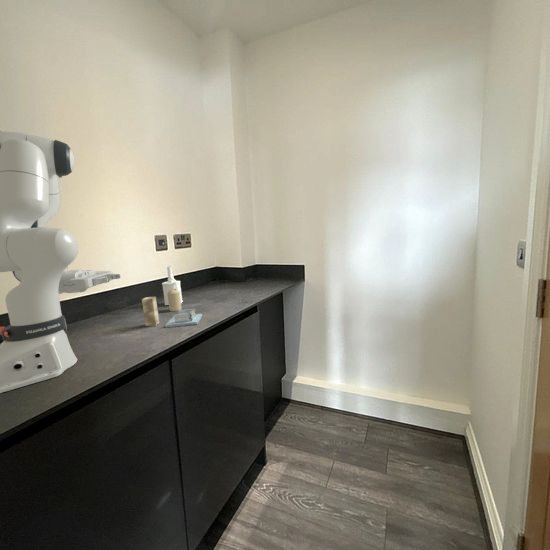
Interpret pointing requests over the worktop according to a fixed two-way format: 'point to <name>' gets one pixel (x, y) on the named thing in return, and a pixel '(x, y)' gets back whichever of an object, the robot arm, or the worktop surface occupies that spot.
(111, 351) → the worktop surface
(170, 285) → the white tall bottle shape
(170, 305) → the candle
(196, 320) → the base plate
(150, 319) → the beech post
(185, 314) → the slot bracket
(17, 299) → the robot arm
